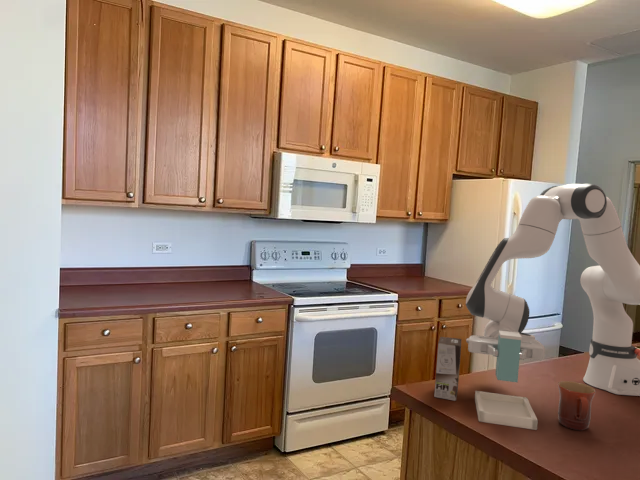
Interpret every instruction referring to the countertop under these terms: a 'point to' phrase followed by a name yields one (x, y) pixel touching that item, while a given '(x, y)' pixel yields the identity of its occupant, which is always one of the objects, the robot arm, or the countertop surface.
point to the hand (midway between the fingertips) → (508, 355)
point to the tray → (505, 410)
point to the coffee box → (447, 368)
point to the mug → (575, 404)
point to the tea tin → (508, 356)
